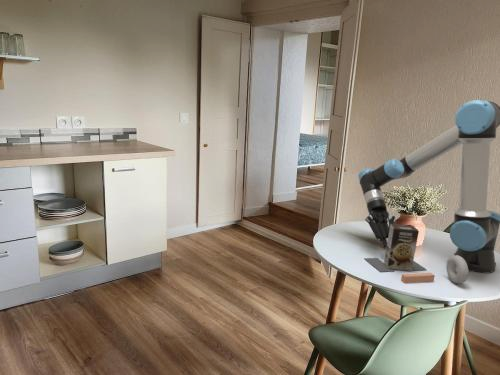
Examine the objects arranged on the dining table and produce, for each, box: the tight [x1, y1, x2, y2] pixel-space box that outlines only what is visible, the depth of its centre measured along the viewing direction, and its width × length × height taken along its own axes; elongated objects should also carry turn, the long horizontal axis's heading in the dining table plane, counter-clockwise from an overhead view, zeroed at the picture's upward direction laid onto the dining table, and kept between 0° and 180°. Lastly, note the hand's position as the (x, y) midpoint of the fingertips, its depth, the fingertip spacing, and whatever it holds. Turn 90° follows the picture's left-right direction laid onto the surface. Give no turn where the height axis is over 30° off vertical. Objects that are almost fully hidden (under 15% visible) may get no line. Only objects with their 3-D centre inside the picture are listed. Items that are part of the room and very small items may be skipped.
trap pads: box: [364, 257, 428, 273], centre depth 153 cm, size 20×12×1 cm, turn 103°
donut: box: [445, 254, 469, 284], centre depth 141 cm, size 10×4×10 cm, turn 4°
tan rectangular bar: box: [400, 272, 435, 284], centre depth 140 cm, size 12×2×2 cm, turn 103°
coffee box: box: [383, 223, 420, 272], centre depth 149 cm, size 9×6×16 cm
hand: (391, 254), depth 155 cm, fingers closed
